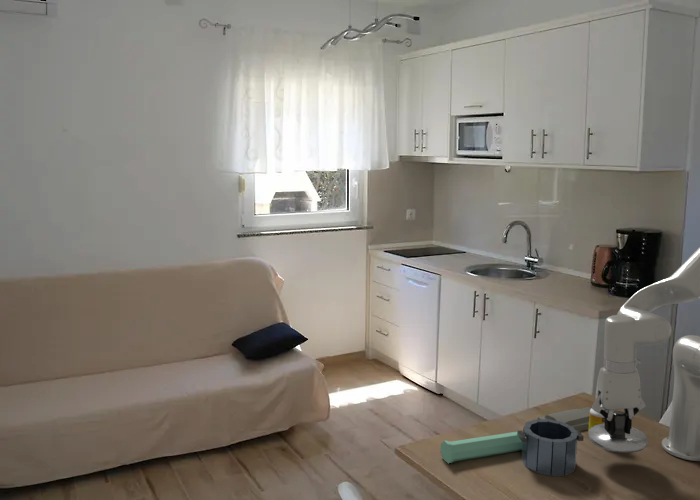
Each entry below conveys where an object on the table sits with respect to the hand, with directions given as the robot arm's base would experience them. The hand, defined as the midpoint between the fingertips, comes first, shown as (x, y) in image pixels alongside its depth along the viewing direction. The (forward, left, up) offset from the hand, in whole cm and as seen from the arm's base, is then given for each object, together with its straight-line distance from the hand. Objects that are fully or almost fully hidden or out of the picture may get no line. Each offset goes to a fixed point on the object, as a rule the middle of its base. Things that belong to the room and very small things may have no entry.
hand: (617, 431), depth 167 cm
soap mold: (+1, -24, -9) cm, 26 cm away
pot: (+17, -1, -9) cm, 19 cm away
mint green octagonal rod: (+32, -6, -9) cm, 34 cm away
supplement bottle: (-2, -14, -9) cm, 16 cm away
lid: (0, 0, -2) cm, 2 cm away
